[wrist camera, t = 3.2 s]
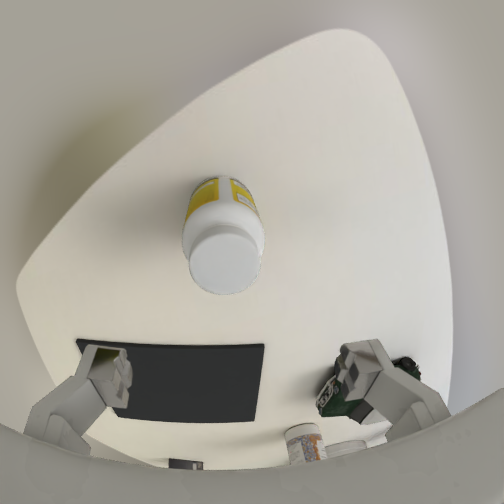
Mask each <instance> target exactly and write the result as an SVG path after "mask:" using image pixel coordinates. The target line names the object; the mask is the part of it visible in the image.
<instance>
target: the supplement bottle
mask: <svg viewBox="0 0 504 504" xmlns="http://www.w3.org/2000/svg"><path fill="white" fill-rule="evenodd" d="M264 246H265V233H264V228H263V225H262V222H261V220H260V217H259V214H258V211H257V209H256V206H255V203H254V201H253V198H252V196H251V194H250V192H249V190H248V189H247V187H246V186H245V185H244V184H243V183H241V182H240V181H238V180H236V179H234V178H232V177H227V176H216V177H212V178H209V179H207V180H205V181H204V182H202V183H201V184H200V185H199V186H198V187H197V188H196V189H195V191H194V192H193V194H192V196H191V199H190V203H189V207H188V211H187V215H186V219H185V223H184V227H183V232H182V247H183V252H184V254H185V256H186V258H187V260H188V262H189V270H190V273H191V276H192V278H193V280H194V281H195V282H196V283H197V284H198V285H199V286H200V287H201V288H202V289H204V290H206V291H208V292H210V293H214V294H218V295H230V294H235V293H238V292H241V291H243V290H245V289H246V288H248V287H249V286H250V285H251V284H252V283H253V282H254V281H255V280H256V278H257V276H258V274H259V272H260V267H261V260H260V258H261V256H262V253H263V251H264Z"/></svg>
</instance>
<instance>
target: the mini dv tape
mask: <svg viewBox="0 0 504 504" xmlns="http://www.w3.org/2000/svg"><path fill="white" fill-rule="evenodd" d="M169 468H172V469H187V470H203V462H196V461H186V460H177V459H169Z"/></svg>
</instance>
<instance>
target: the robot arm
mask: <svg viewBox="0 0 504 504" xmlns="http://www.w3.org/2000/svg"><path fill="white" fill-rule="evenodd" d="M340 353H341V354H340V355H339V356H338V357H337V358H336V361H335V366H334V370H335V375H336V378H337V380H338V381H340V382H341V383H342V385H341V388H340V389H341V392H342V394H343V397H344V400H345V401H350V400H356V399H361V398H364V400H365V401H367V402H368V403H369V404H370V405H371V406H372V407H373V408H374V409H376V410H377V411H378V412H379V413H380V414H381V415H382V416H384V417H385V418H386V419H387V420H388V421H389V422H390V423H392V424H393V426H392V427H391V428H390V429H389V431H388V432H387V433H386V435H385V436H386V439H387V441H388V442H387V443H384V444H381V445H377V446H374V447H371V448H368V449H364V450H360V451H357V452H353V453H349V454H345V455H341V456H337V457H332V458H327V459H322V460H317V461H312V462H306V463H300V464H293V465H286V466H278V467H269V468H257V469H242V470H187V469H172V468H161V467H151V466H144V465H136V464H130V463H124V462H118V461H113V460H108V459H103V458H99V457H94V456H90V450H91V447H90V446H89V444H88V443H86V441H85V440H83V438H82V437H81V436H82V435H83V434H84V433H85V432H86V430H87V429H88V428H89V427H90V426H91V425H92V424H93V423H94V421H95V420H96V419H97V418H98V417H99V416H100V415H101V414H102V412H103V411H104V410H105V409H106V408H107V407H106V406H108V407H116V408H125V409H127V405H128V400H129V393H128V390H127V389H128V388H129V387H130V386H131V385H132V380H133V370H132V366H131V363H130V362H129V361H128V360H127V352H126V350H125V349H123V348H115V347H107V346H98V345H91V344H88V345H87V346H86V348H85V350H84V353H83V355H82V358H81V360H80V363H79V365H78V368H77V370H76V373H75V376H70V377H69V378H68V379H67V380H65V381H64V382H63V383H62V384H60V385H59V386H58V387H57V388H55V389H54V390H53V391H51V392H50V393H49V394H48V395H47V396H45V397H44V398H43V399H42V400H40V401H39V402H38V403H37V404H35V405H34V406H33V407H32V409H31V412H30V415H29V418H28V421H27V424H26V427H25V430H24V433H20V432H18V431H16V430H14V429H11V428H9V427H7V426H5V425H2V424H0V504H504V388H501V389H499V390H497V391H495V392H494V393H492V394H491V395H489V396H487V397H486V398H484V399H482V400H481V401H479V402H477V403H475V404H474V405H472V406H470V407H468V408H466V409H464V410H463V411H461V412H459V413H457V414H455V415H453V416H451V414H450V413H449V411H448V409H447V407H446V405H445V403H444V401H443V400H442V398H441V396H440V394H439V393H438V392H436V391H435V390H433V389H431V388H430V387H428V386H427V385H425V384H423V383H422V382H420V381H419V380H417V379H415V378H414V377H412V376H411V375H409V374H408V373H406V372H404V371H403V370H401V369H400V368H398V367H396V368H395V367H394V366H393V364H392V362H391V360H390V358H389V357H388V355H387V353H386V351H385V349H384V348H383V346H382V344H381V343H380V341H379V340H378V339H373V340H367V341H359V342H352V343H345V344H343V345H342V346H341V348H340Z"/></svg>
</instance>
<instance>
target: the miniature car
mask: <svg viewBox="0 0 504 504" xmlns="http://www.w3.org/2000/svg"><path fill="white" fill-rule="evenodd" d="M418 366H419V365H417V366H416V363H415V362H414V361H413V360H412V359H411V358H408V357H405V358H403V359H402V360H401V362H400V363H399V365H395V366H394V367H395V368H396V367H398V368H400V369H401V370H403V371H404V372H406V373H408V374H409V375H411V376H412V377H414V378H415V379H417V380H419V381H420V380H421V378H420V375H421V373H420V372H419V370H418V369H419V368H418ZM341 385H342V383H341V382H340V381H338V380H337V378H336V375H334V376H333V377H332V378H331V379H330V380H328V381H327V384H326V385H325V386H324V388H323V389H322V391H321V392H320V393H319V395H318V397H317V398H316V407H317V408H318V410H319V414H320V415H321V417H335V416H348V417H349V419H353V420H355V421H357V422H358V423H359V424H360V425H368V424H373V423H377V422H382V421H386V420H387V419H386V418H385V417H384V416H382V415H381V414H380V413H379V412H378V411H377V410H376V409H374V408H373V407H372V406H371V405H370V404H369V403H368V402H367V401H365V400H364V398H361V399H356V400H350V401H345V400H344V397H343V394H342V392H341V389H340V388H341ZM327 386H328V387H327ZM326 387H327V388H326ZM325 389H326V390H325ZM324 390H325V391H324ZM323 391H324V393H323ZM322 393H323V394H322ZM321 394H322V395H321ZM320 396H321V397H320ZM319 397H320V398H319Z"/></svg>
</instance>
